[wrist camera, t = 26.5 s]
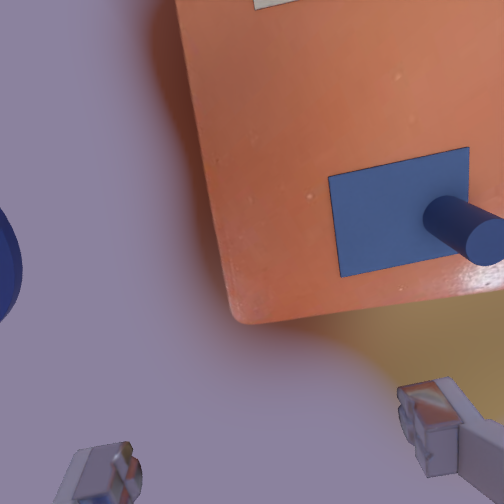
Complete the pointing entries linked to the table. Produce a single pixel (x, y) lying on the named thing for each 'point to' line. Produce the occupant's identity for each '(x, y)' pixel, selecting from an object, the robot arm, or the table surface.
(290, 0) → the cream mat
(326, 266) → the table surface
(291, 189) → the table surface
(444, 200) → the blue canister
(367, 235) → the blue mat
